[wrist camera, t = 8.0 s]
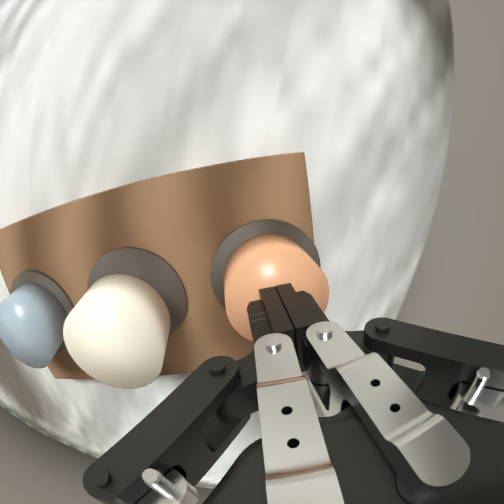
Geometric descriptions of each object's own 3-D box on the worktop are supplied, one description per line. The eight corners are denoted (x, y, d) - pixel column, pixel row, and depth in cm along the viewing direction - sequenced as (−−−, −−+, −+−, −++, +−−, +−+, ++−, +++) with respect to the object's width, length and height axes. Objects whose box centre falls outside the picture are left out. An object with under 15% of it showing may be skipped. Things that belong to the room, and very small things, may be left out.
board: (297, 152, 16) (309, 151, 14) (313, 330, 20) (323, 348, 18) (3, 228, 14) (-15, 236, 12) (61, 364, 19) (52, 380, 17)
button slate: (50, 277, 14) (26, 298, 11) (79, 341, 15) (63, 368, 13) (6, 286, 13) (-16, 306, 11) (34, 344, 15) (17, 367, 12)
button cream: (154, 266, 13) (139, 295, 10) (182, 347, 14) (177, 385, 12) (72, 282, 12) (47, 309, 9) (106, 355, 14) (91, 389, 11)
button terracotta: (306, 226, 15) (326, 242, 12) (312, 304, 17) (329, 331, 14) (214, 243, 15) (215, 264, 12) (232, 321, 16) (236, 352, 13)
